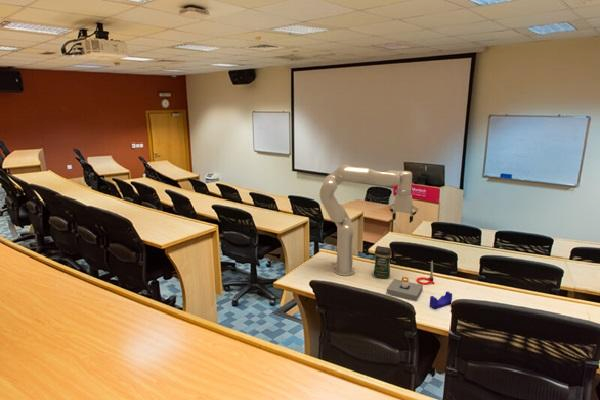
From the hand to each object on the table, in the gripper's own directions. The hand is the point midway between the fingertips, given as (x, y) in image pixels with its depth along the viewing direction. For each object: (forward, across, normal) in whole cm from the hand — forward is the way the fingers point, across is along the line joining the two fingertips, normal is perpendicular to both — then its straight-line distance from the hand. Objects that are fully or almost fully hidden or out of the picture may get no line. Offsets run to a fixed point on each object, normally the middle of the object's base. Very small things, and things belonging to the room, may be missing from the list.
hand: (402, 220), depth 219 cm
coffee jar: (+34, -8, -9) cm, 36 cm away
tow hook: (+34, +16, -4) cm, 37 cm away
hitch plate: (+33, +9, -22) cm, 41 cm away
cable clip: (+34, +28, -27) cm, 51 cm away
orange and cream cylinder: (+33, +9, -22) cm, 41 cm away
